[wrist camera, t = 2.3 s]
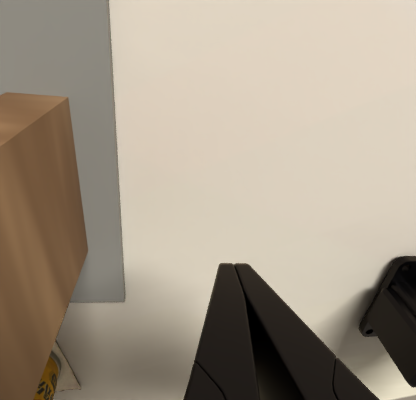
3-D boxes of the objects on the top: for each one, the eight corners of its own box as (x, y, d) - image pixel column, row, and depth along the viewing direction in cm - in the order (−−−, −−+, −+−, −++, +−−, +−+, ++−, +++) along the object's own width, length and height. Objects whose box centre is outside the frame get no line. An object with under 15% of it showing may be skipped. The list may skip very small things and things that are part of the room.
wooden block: (68, 96, 11) (-125, 237, 4) (88, 250, 14) (8, 468, 7) (-1, 91, 10) (-350, 234, 3) (37, 250, 14) (-97, 475, 7)
